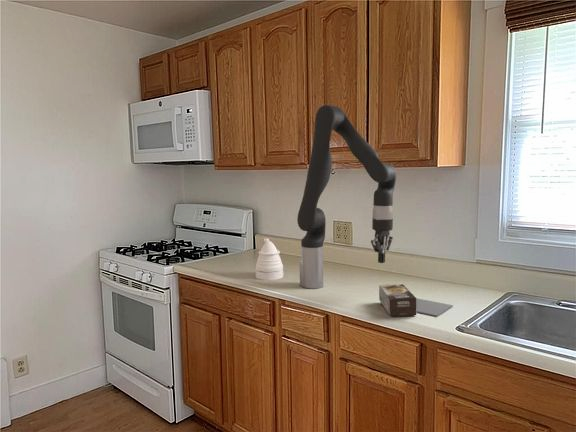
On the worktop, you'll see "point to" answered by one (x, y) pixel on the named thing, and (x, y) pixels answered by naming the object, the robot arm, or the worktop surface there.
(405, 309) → the coffee box
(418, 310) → the mat
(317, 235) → the robot arm
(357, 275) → the worktop surface
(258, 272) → the honey pot
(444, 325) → the worktop surface
